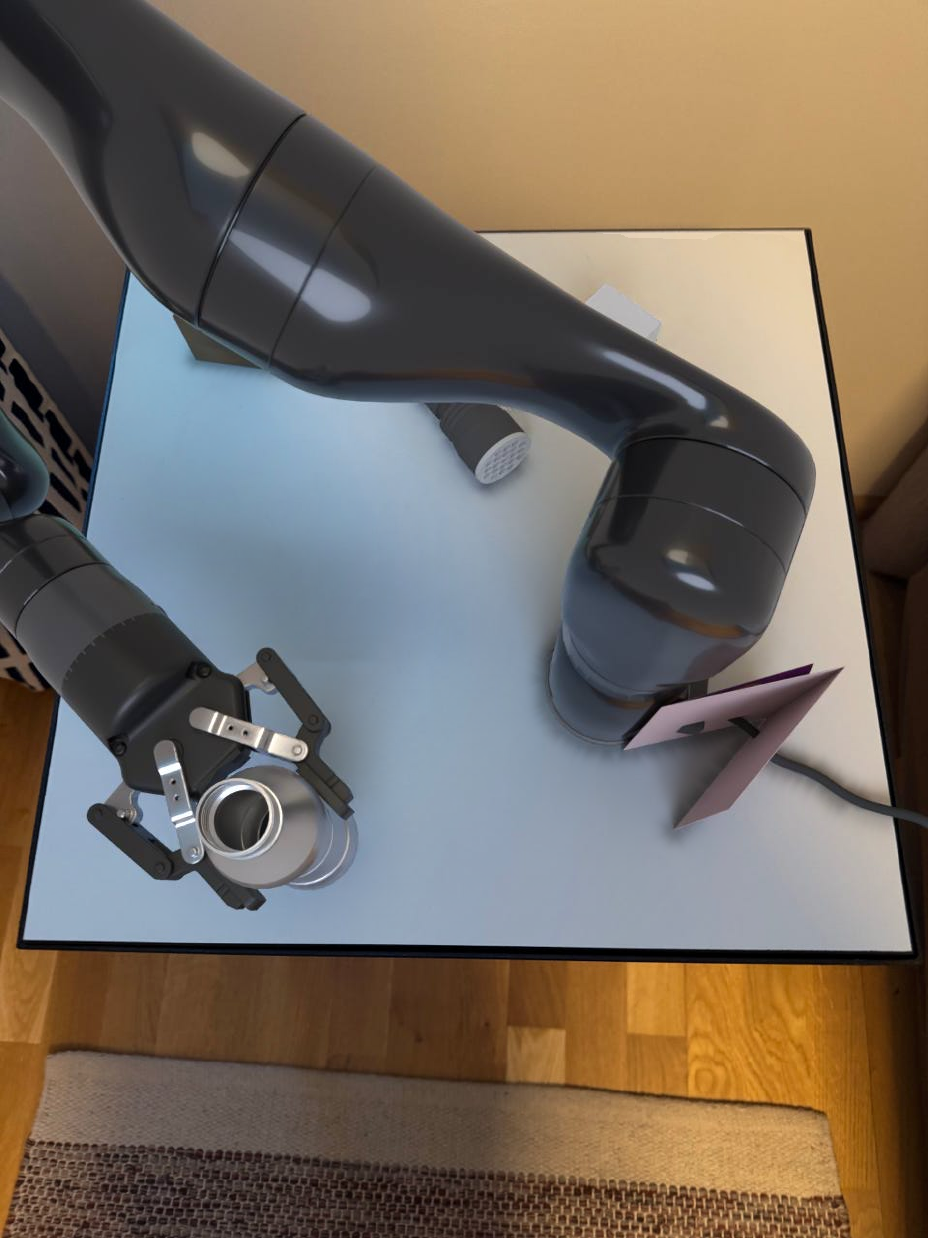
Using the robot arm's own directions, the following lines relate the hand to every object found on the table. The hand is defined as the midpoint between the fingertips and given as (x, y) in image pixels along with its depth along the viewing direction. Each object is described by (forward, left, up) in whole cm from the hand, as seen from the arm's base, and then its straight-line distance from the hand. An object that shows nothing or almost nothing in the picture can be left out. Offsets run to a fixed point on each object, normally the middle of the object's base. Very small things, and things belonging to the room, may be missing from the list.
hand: (303, 858), depth 46 cm
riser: (+20, -45, -16) cm, 52 cm away
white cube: (-13, -46, -17) cm, 51 cm away
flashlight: (-1, -39, -17) cm, 42 cm away
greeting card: (-25, -12, -17) cm, 32 cm away
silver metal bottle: (+2, -1, -12) cm, 12 cm away
